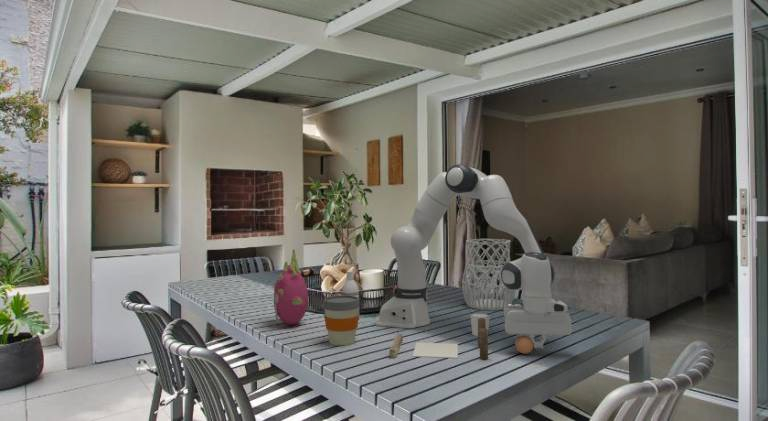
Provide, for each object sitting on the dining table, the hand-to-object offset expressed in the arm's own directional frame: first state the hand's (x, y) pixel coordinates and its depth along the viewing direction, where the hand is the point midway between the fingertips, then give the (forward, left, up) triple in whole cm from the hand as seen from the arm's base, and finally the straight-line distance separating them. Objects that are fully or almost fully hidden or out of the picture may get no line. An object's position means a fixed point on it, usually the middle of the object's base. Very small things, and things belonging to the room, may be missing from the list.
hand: (538, 348), depth 150 cm
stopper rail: (-45, 0, -2) cm, 45 cm away
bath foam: (-69, +37, -2) cm, 78 cm away
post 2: (-17, -6, -2) cm, 18 cm away
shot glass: (-17, +20, -2) cm, 26 cm away
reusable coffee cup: (-65, +6, -2) cm, 65 cm away
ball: (-4, 0, +1) cm, 4 cm away
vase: (-11, +68, -2) cm, 69 cm away
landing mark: (-32, 0, -2) cm, 32 cm away
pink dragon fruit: (-91, +26, -2) cm, 95 cm away
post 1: (-17, +6, -2) cm, 18 cm away
